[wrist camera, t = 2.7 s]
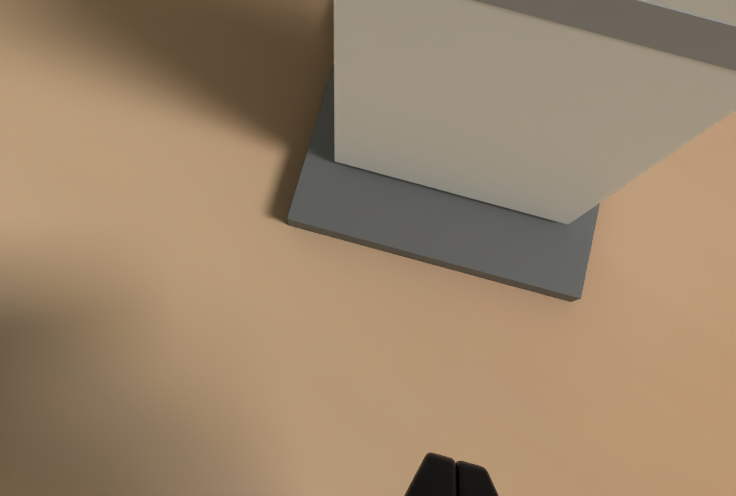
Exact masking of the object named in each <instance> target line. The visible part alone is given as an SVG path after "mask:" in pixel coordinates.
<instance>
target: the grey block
mask: <svg viewBox="0 0 736 496" xmlns="http://www.w3.org/2000/svg"><path fill="white" fill-rule="evenodd" d="M599 204H600V203H599ZM599 204H597V205H596V206H595V207H593V208H592V209H590V210H589V211H587V212H586V213H584V214H583V215H581V216H580V217H578V218H577V219H576V220H574V221H573V222H571V223H570V224H564V223H560V222H557V221H553V220H549V219H546V218H542V217H538V216H534V215H531V214H527V213H523V212H520V211H516V210H512V209H509V208H505V207H501V206H498V205H494V204H490V203H486V202H483V201H479V200H475V199H472V198H468V197H464V196H461V195H457V194H453V193H449V192H446V191H442V190H438V189H435V188H431V187H427V186H424V185H420V184H416V183H413V182H409V181H405V180H401V179H398V178H394V177H390V176H387V175H383V174H379V173H376V172H372V171H368V170H365V169H361V168H357V167H353V166H350V165H346V164H342V163H339V162H335V146H334V65H333V69H332V72H331V75H330V79H329V82H328V85H327V88H326V92H325V95H324V98H323V102H322V105H321V108H320V112H319V115H318V118H317V121H316V125H315V128H314V131H313V135H312V138H311V141H310V145H309V148H308V151H307V154H306V158H305V161H304V164H303V168H302V171H301V174H300V178H299V181H298V184H297V187H296V191H295V194H294V197H293V201H292V204H291V207H290V211H289V214H288V217H287V221H288V224H289V225H290V226H294V227H297V228H301V229H305V230H308V231H312V232H316V233H320V234H323V235H327V236H331V237H334V238H338V239H342V240H345V241H349V242H353V243H356V244H360V245H364V246H367V247H371V248H375V249H378V250H382V251H386V252H390V253H393V254H397V255H401V256H404V257H408V258H412V259H415V260H419V261H423V262H426V263H430V264H434V265H437V266H441V267H445V268H448V269H452V270H456V271H459V272H463V273H467V274H471V275H474V276H478V277H482V278H485V279H489V280H493V281H496V282H500V283H504V284H507V285H511V286H515V287H518V288H522V289H526V290H529V291H533V292H537V293H540V294H544V295H548V296H552V297H555V298H559V299H563V300H566V301H570V302H572V301H575V300H578V299H581V295H582V290H583V284H584V279H585V274H586V269H587V264H588V259H589V254H590V249H591V244H592V239H593V234H594V229H595V224H596V219H597V214H598V209H599Z"/></svg>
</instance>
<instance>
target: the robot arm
mask: <svg viewBox="0 0 736 496" xmlns="http://www.w3.org/2000/svg"><path fill="white" fill-rule="evenodd" d="M404 496H498V494H497V492H496V489H495V487H494V485H493V483H492V480H491V478H490V476H489V474H488V472H487V470H486V469H485V468H484V467H481V466H478V465H475V464H471V463H468V462H464V461H457V462H456V463H455V461H454V460H453V459H452V458H449V457H446V456H442V455H438V454H435V453H428V454H426V456H425V457H424V459H423V461H422V463H421V465H420V467H419V469H418V471H417V473H416V474H415V476H414V478H413V480H412V482H411V484H410V486H409V488H408V490H407V492H406V493H405V495H404Z"/></svg>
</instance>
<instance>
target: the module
mask: <svg viewBox="0 0 736 496" xmlns="http://www.w3.org/2000/svg"><path fill="white" fill-rule="evenodd" d="M734 110H736V0H334V146H335V162H339V163H342V164H346V165H350V166H353V167H357V168H361V169H365V170H368V171H372V172H376V173H379V174H383V175H387V176H390V177H394V178H398V179H401V180H405V181H409V182H413V183H416V184H420V185H424V186H427V187H431V188H435V189H438V190H442V191H446V192H449V193H453V194H457V195H461V196H464V197H468V198H472V199H475V200H479V201H483V202H486V203H490V204H494V205H498V206H501V207H505V208H509V209H512V210H516V211H520V212H523V213H527V214H531V215H534V216H538V217H542V218H546V219H549V220H553V221H557V222H560V223H564V224H570V223H571V222H573V221H574V220H576V219H577V218H578V217H580V216H581V215H583V214H584V213H586V212H587V211H589V210H590V209H592V208H593V207H595V206H596V205H597V204H599V203H600V202H602V201H603V200H605V199H606V198H608V197H609V196H611V195H612V194H613V193H615V192H616V191H618V190H619V189H621V188H622V187H624V186H625V185H627V184H628V183H630V182H631V181H632V180H634V179H635V178H637V177H638V176H640V175H641V174H643V173H644V172H646V171H647V170H648V169H650V168H651V167H653V166H654V165H656V164H657V163H659V162H660V161H662V160H663V159H665V158H666V157H667V156H669V155H670V154H672V153H673V152H675V151H676V150H678V149H679V148H681V147H682V146H683V145H685V144H686V143H688V142H689V141H691V140H692V139H694V138H695V137H697V136H698V135H700V134H701V133H702V132H704V131H705V130H707V129H708V128H710V127H711V126H713V125H714V124H716V123H717V122H718V121H720V120H721V119H723V118H724V117H726V116H727V115H729V114H730V113H732V112H733V111H734Z"/></svg>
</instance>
